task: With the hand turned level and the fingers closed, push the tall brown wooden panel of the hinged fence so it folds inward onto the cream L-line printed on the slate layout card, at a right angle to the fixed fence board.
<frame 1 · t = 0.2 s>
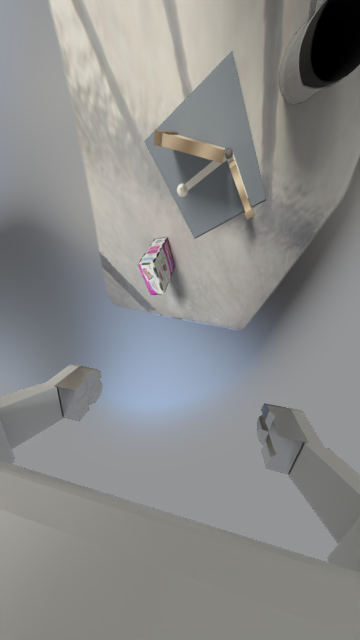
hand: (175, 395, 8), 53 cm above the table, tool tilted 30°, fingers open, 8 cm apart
brown wooden panel: (193, 145, 34), point 7 cm above the table, hinge at -45.0°
fixed fence: (228, 152, 39), resting on layout card
layout card: (208, 171, 43), on the table
candy bar box: (165, 253, 61), on the table
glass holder: (306, 39, 28), on the table
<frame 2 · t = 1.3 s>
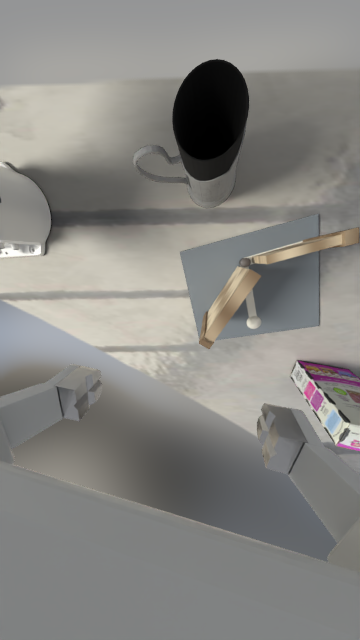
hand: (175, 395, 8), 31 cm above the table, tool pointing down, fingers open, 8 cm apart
brown wooden panel: (224, 301, 30), point 8 cm above the table, hinge at -45.0°
fixed fence: (243, 262, 34), resting on layout card
layout card: (248, 288, 36), on the table
candy bar box: (317, 372, 39), on the table
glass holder: (195, 185, 32), on the table
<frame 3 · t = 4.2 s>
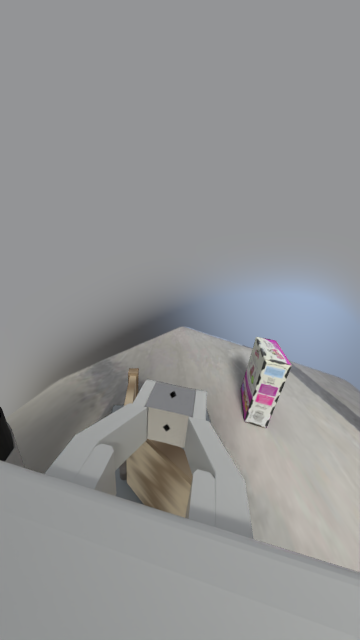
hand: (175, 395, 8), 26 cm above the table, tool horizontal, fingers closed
brown wooden panel: (164, 485, 20), point 8 cm above the table, hinge at -45.0°
fixed fence: (125, 474, 27), resting on layout card
layout card: (160, 470, 28), on the table
candy bar box: (252, 406, 42), on the table
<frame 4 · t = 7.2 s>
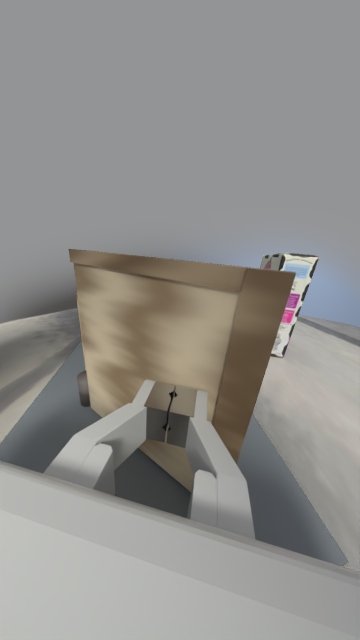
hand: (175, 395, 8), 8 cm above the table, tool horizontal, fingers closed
brown wooden panel: (148, 370, 11), point 8 cm above the table, hinge at -44.5°, touching gripper
fixed fence: (89, 400, 17), resting on layout card
layout card: (146, 396, 19), on the table
candy bar box: (261, 342, 34), on the table
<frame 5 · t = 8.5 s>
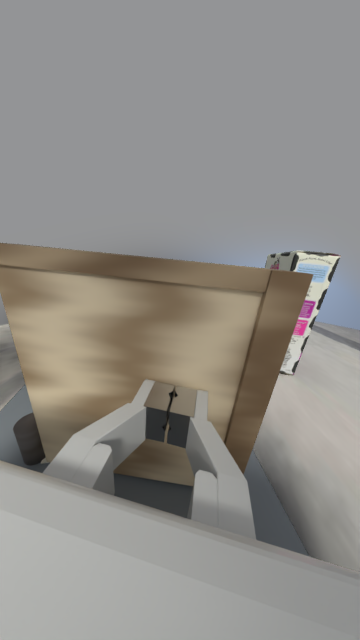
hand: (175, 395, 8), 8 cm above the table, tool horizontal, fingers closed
brown wooden panel: (141, 387, 9), point 8 cm above the table, hinge at -17.6°, touching gripper
fixed fence: (38, 452, 12), resting on layout card
layout card: (120, 440, 14), on the table
candy bar box: (265, 355, 30), on the table
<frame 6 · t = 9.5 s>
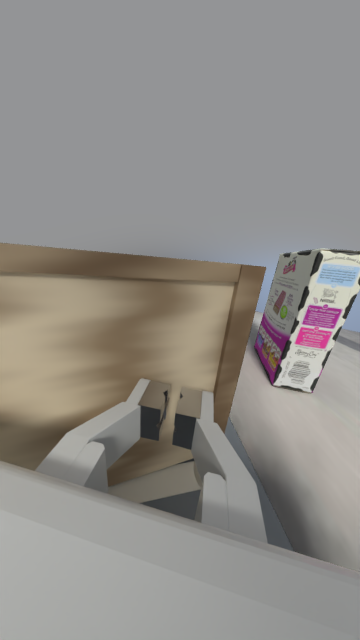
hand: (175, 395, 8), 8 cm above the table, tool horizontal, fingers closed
brown wooden panel: (131, 388, 9), point 8 cm above the table, hinge at 7.3°, touching gripper
layout card: (101, 493, 11), on the table
candy bar box: (277, 367, 27), on the table
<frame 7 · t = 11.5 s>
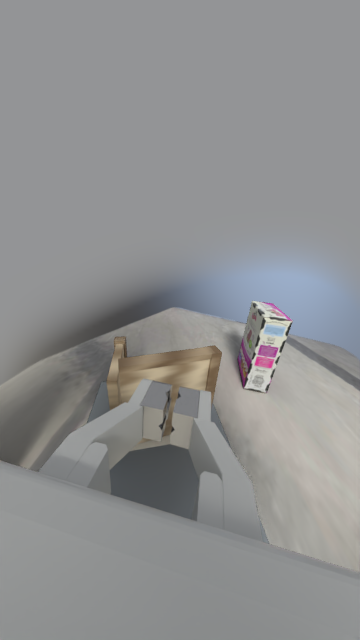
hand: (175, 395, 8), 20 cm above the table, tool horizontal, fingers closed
brown wooden panel: (170, 397, 23), point 7 cm above the table, hinge at 7.3°
fixed fence: (116, 447, 24), resting on layout card
layout card: (156, 440, 25), on the table
candy bar box: (250, 375, 40), on the table
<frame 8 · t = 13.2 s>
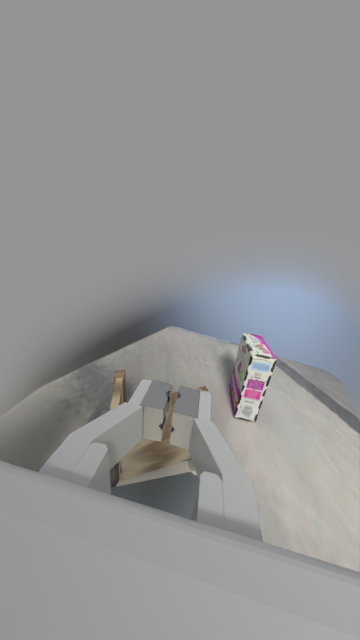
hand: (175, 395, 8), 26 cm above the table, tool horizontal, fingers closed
brown wooden panel: (164, 433, 26), point 7 cm above the table, hinge at 7.3°
fixed fence: (113, 480, 26), resting on layout card
layout card: (150, 473, 27), on the table
candy bar box: (241, 402, 43), on the table
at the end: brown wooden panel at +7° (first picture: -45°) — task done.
